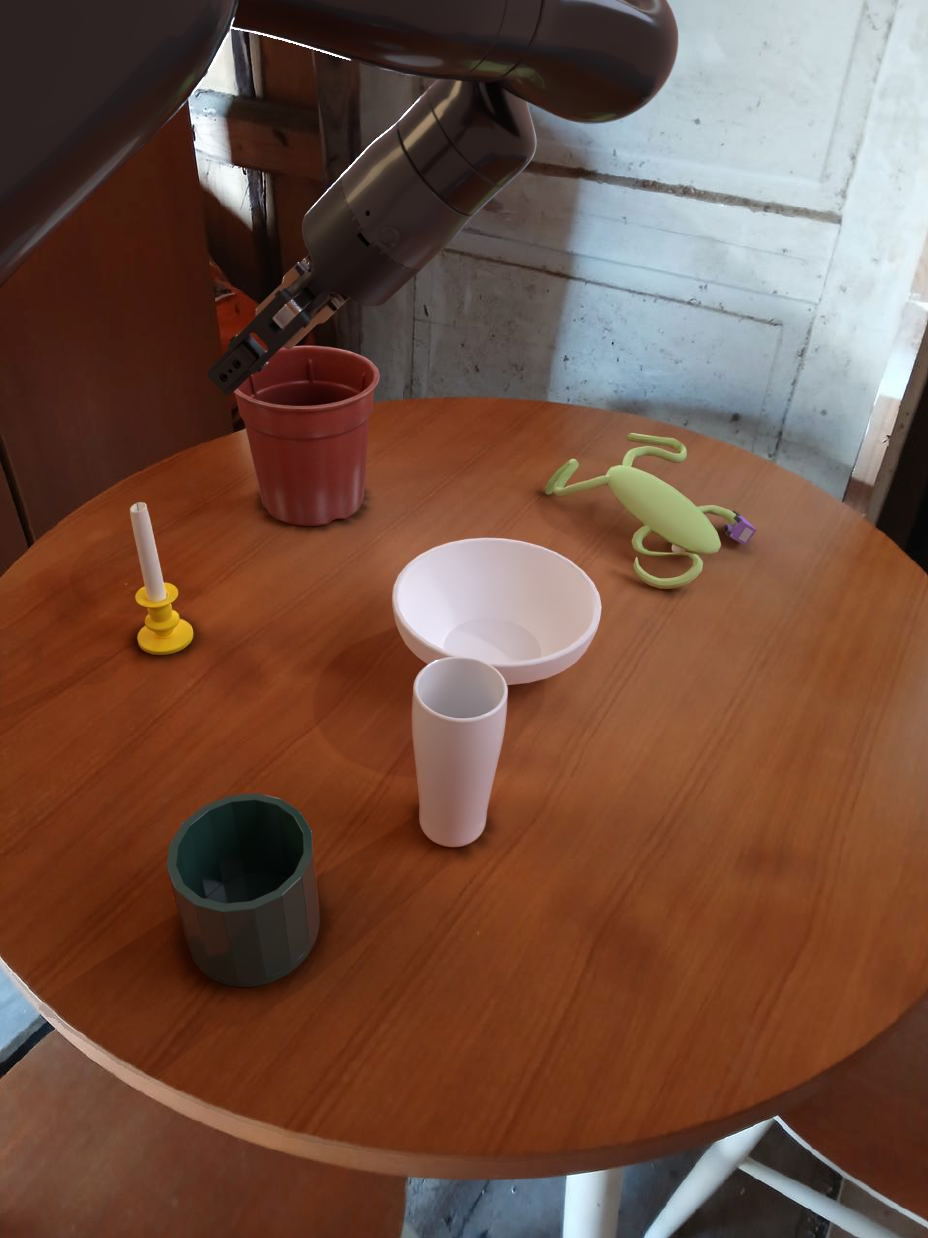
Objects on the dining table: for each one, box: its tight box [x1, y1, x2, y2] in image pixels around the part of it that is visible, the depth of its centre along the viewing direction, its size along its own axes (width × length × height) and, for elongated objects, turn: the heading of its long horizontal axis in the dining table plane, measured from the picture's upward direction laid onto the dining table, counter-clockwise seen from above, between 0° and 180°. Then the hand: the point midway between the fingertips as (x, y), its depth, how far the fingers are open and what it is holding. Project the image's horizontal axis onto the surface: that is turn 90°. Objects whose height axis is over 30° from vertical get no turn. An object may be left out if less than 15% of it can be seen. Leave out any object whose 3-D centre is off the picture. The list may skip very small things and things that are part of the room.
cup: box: [165, 792, 321, 988], centre depth 62 cm, size 9×9×9 cm
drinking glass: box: [411, 657, 509, 848], centre depth 68 cm, size 7×7×15 cm
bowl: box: [391, 537, 602, 686], centre depth 86 cm, size 20×20×7 cm
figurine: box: [543, 432, 758, 590], centre depth 107 cm, size 18×27×6 cm
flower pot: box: [232, 345, 381, 527], centre depth 104 cm, size 16×16×16 cm
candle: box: [129, 501, 194, 656], centre depth 83 cm, size 5×5×16 cm
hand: (243, 360), depth 68 cm, fingers open, 8 cm apart
